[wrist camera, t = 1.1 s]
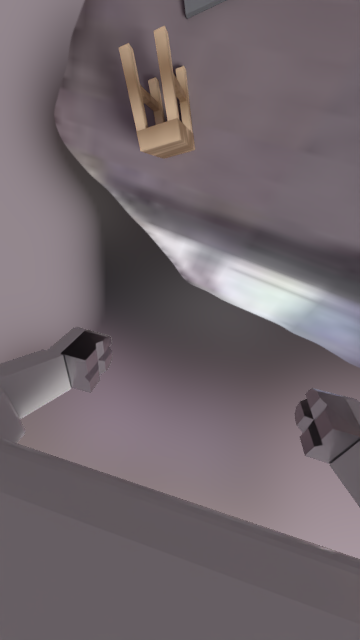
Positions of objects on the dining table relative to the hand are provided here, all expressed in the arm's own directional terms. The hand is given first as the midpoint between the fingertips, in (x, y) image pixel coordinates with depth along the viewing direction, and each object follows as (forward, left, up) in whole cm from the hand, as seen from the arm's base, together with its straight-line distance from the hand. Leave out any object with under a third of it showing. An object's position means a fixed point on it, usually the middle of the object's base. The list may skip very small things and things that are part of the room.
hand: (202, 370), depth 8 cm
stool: (-1, -19, -37) cm, 41 cm away
